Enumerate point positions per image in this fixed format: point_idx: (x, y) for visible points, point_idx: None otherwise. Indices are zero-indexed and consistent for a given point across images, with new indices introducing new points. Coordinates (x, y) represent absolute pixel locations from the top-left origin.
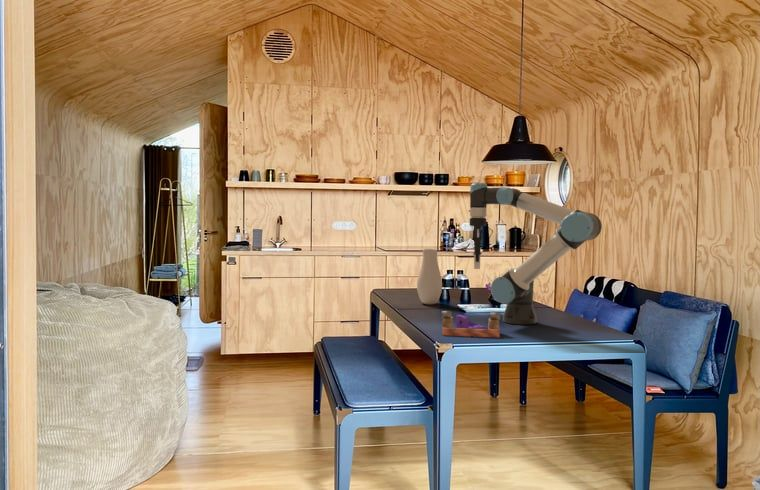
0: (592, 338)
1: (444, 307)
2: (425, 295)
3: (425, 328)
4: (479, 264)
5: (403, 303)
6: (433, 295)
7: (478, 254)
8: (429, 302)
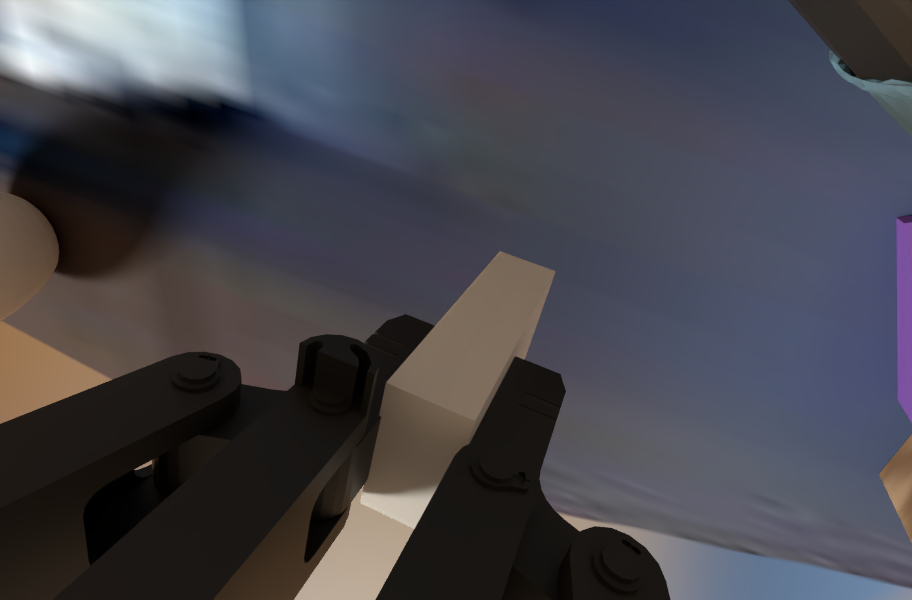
0: None
1: (119, 187)
2: (31, 288)
3: (770, 526)
4: (534, 316)
5: (61, 350)
6: (22, 246)
7: (546, 516)
8: (56, 248)
